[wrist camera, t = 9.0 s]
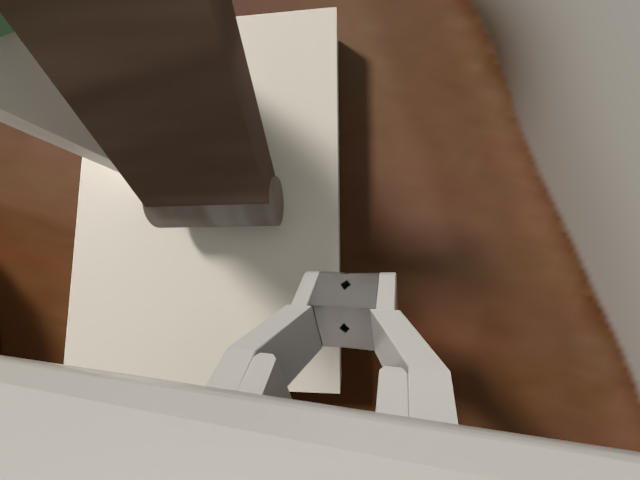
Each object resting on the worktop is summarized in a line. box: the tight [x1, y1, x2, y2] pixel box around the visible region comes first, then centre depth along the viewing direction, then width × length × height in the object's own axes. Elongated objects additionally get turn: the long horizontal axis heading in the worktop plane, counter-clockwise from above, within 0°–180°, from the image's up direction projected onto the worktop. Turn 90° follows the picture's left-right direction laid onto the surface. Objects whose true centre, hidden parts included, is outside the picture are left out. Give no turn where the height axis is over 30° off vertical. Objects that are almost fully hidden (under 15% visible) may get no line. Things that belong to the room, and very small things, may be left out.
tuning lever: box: [0, 0, 284, 228], centre depth 8 cm, size 2×5×14 cm
